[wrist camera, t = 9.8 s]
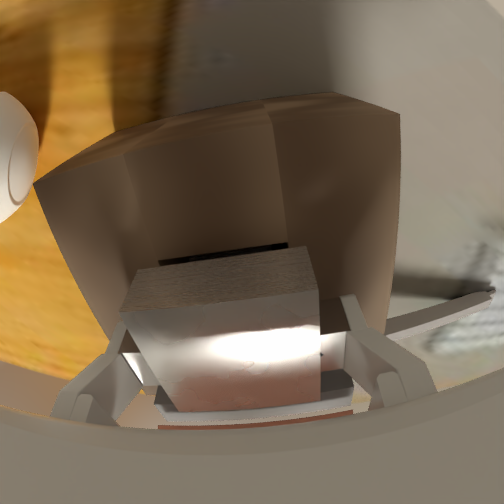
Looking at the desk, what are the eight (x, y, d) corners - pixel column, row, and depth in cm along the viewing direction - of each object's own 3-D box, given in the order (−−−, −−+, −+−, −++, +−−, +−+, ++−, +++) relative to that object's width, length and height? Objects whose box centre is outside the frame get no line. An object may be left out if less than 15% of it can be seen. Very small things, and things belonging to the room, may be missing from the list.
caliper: (275, 317, 23) (281, 387, 18) (275, 306, 23) (282, 377, 17) (489, 296, 23) (522, 343, 18) (494, 286, 23) (528, 333, 17)
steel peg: (283, 171, 15) (318, 289, 7) (293, 260, 18) (320, 400, 10) (179, 188, 16) (118, 312, 8) (203, 272, 18) (179, 411, 11)
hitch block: (333, 92, 15) (433, 127, 6) (342, 277, 21) (386, 404, 13) (114, 132, 16) (-1, 209, 7) (170, 299, 22) (139, 426, 13)
